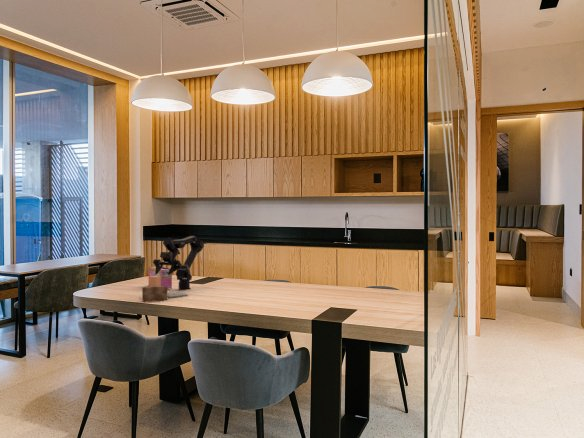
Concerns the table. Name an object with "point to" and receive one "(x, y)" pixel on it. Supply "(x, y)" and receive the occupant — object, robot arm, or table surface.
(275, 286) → the table surface
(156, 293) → the walnut screen
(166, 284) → the gum box
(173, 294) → the grey mat
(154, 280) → the letter block
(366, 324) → the table surface
